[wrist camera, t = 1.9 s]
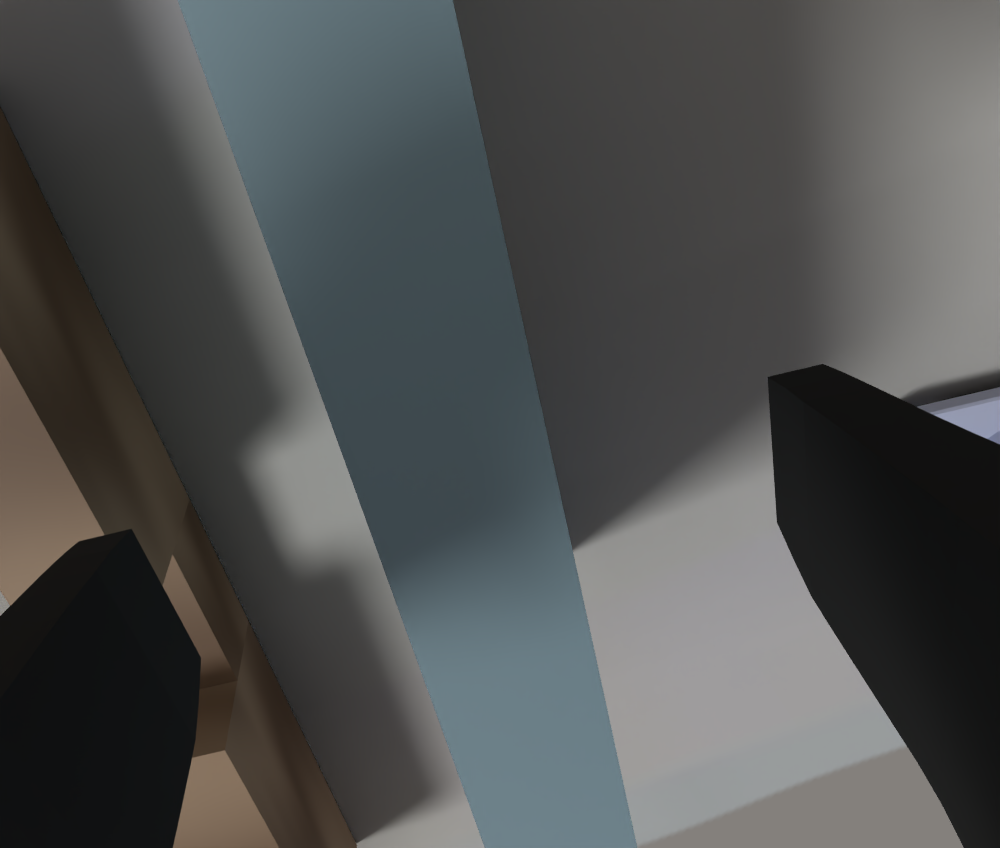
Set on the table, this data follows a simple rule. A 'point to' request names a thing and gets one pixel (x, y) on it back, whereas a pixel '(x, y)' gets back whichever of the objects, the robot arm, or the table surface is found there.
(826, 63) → the table surface
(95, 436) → the walnut slotted plate
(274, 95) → the teal slotted plate
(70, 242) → the table surface
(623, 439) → the table surface
